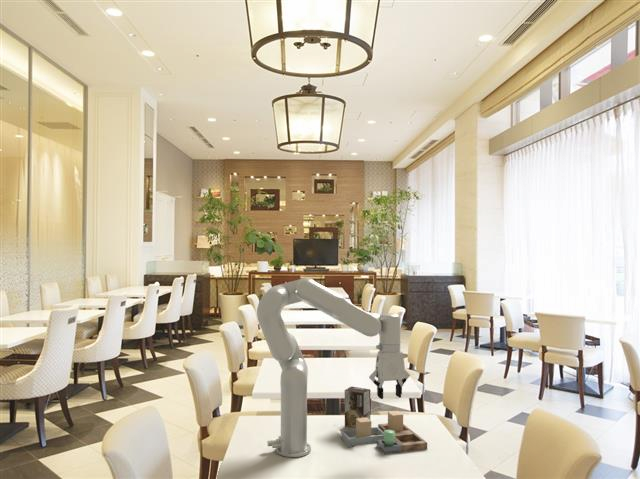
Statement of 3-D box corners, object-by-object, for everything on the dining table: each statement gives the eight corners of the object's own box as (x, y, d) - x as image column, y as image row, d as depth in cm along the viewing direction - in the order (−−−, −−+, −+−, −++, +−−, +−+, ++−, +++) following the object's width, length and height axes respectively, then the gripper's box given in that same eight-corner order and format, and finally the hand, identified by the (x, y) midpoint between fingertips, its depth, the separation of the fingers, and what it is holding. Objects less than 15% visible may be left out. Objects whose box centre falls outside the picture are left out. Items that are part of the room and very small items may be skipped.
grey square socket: (384, 456, 173) (384, 447, 173) (376, 448, 180) (376, 440, 180) (402, 453, 175) (402, 445, 175) (394, 446, 181) (394, 438, 182)
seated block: (392, 436, 189) (392, 415, 189) (387, 432, 194) (387, 411, 194) (403, 435, 190) (403, 414, 191) (398, 431, 195) (398, 410, 195)
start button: (386, 448, 175) (386, 434, 175) (381, 444, 179) (382, 430, 179) (396, 447, 176) (396, 433, 176) (392, 442, 180) (392, 429, 180)
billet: (360, 443, 184) (360, 422, 184) (356, 439, 188) (356, 418, 188) (371, 442, 185) (371, 421, 185) (366, 438, 189) (367, 417, 190)
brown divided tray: (402, 453, 175) (402, 445, 175) (378, 431, 196) (378, 424, 196) (427, 451, 178) (427, 442, 178) (400, 429, 199) (400, 422, 199)
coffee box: (371, 429, 199) (371, 389, 199) (363, 433, 194) (364, 393, 194) (351, 424, 204) (351, 385, 204) (343, 429, 198) (344, 389, 199)
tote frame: (348, 447, 180) (348, 439, 180) (341, 438, 189) (341, 430, 189) (386, 443, 185) (386, 435, 185) (377, 434, 193) (377, 426, 193)
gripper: (371, 351, 172) (371, 402, 172) (416, 348, 177) (415, 398, 176) (363, 347, 179) (363, 396, 179) (406, 344, 184) (406, 392, 184)
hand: (389, 396), depth 178 cm, fingers open, 6 cm apart
